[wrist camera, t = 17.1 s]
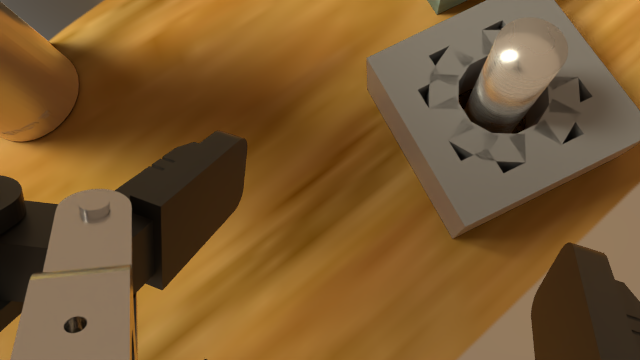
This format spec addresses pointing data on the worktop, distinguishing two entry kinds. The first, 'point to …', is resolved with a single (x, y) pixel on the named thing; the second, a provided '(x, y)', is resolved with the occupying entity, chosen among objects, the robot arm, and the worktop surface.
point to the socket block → (496, 148)
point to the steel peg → (516, 73)
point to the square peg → (443, 4)
